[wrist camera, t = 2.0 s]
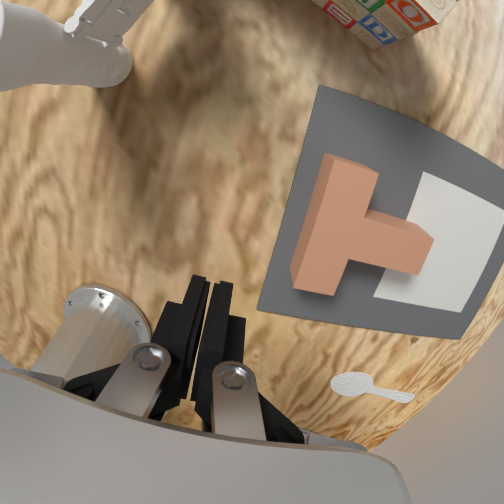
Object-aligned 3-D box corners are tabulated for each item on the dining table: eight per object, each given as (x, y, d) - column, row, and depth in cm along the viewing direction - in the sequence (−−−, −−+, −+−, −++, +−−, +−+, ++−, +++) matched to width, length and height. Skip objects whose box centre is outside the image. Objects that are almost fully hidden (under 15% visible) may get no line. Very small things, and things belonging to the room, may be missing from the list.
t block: (389, 287, 33) (401, 308, 29) (289, 267, 32) (293, 288, 28) (429, 189, 27) (449, 200, 24) (324, 152, 26) (334, 159, 23)
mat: (459, 337, 37) (460, 339, 36) (256, 307, 34) (256, 309, 34) (529, 188, 27) (531, 189, 26) (318, 84, 24) (319, 84, 24)
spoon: (401, 406, 44) (402, 409, 44) (321, 387, 41) (321, 390, 41) (422, 387, 42) (423, 390, 42) (343, 364, 39) (344, 367, 38)
